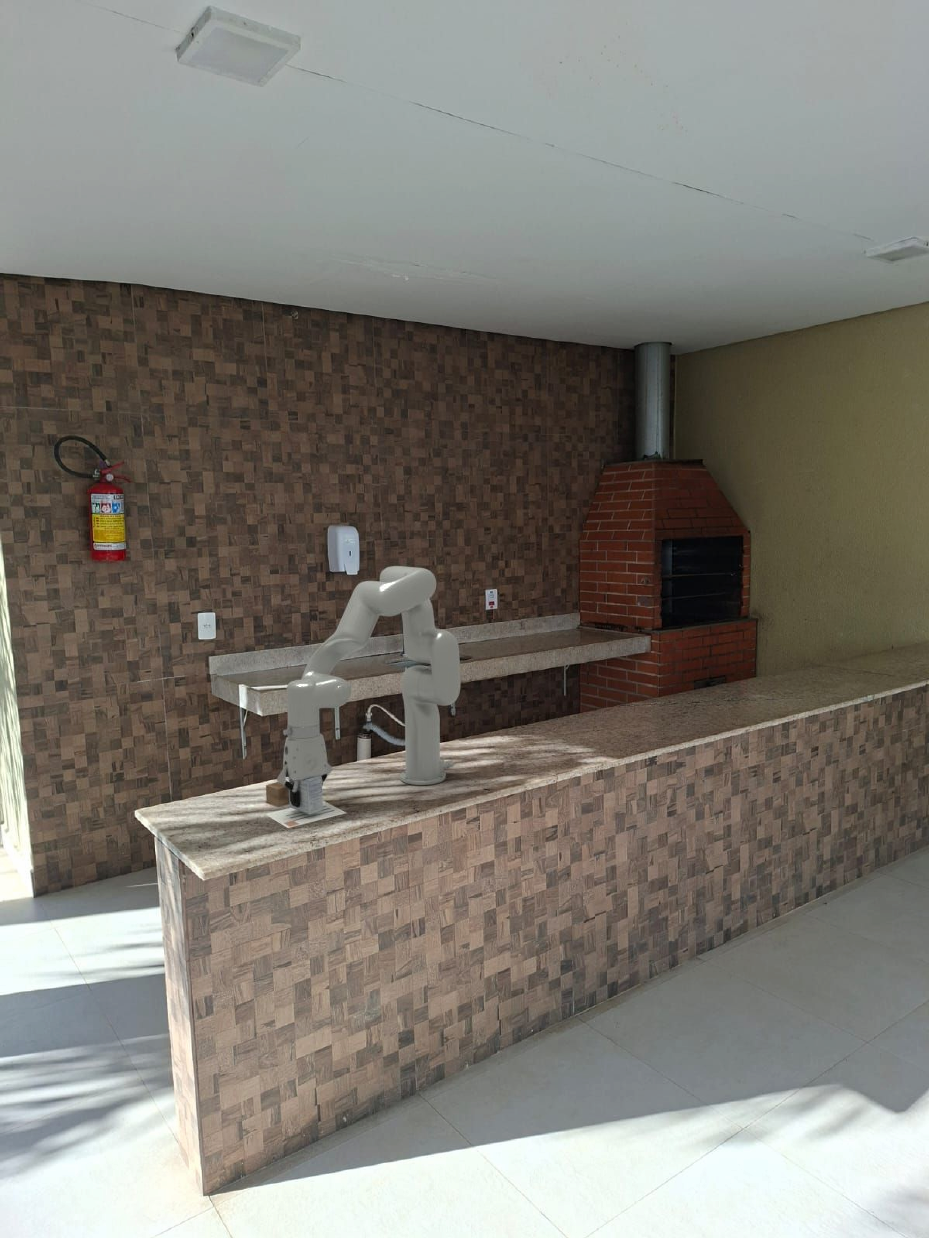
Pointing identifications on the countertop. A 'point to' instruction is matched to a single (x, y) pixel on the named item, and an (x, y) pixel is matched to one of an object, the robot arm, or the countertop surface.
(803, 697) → the countertop surface
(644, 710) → the countertop surface
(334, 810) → the letter
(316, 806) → the medicine box
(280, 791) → the walnut block
